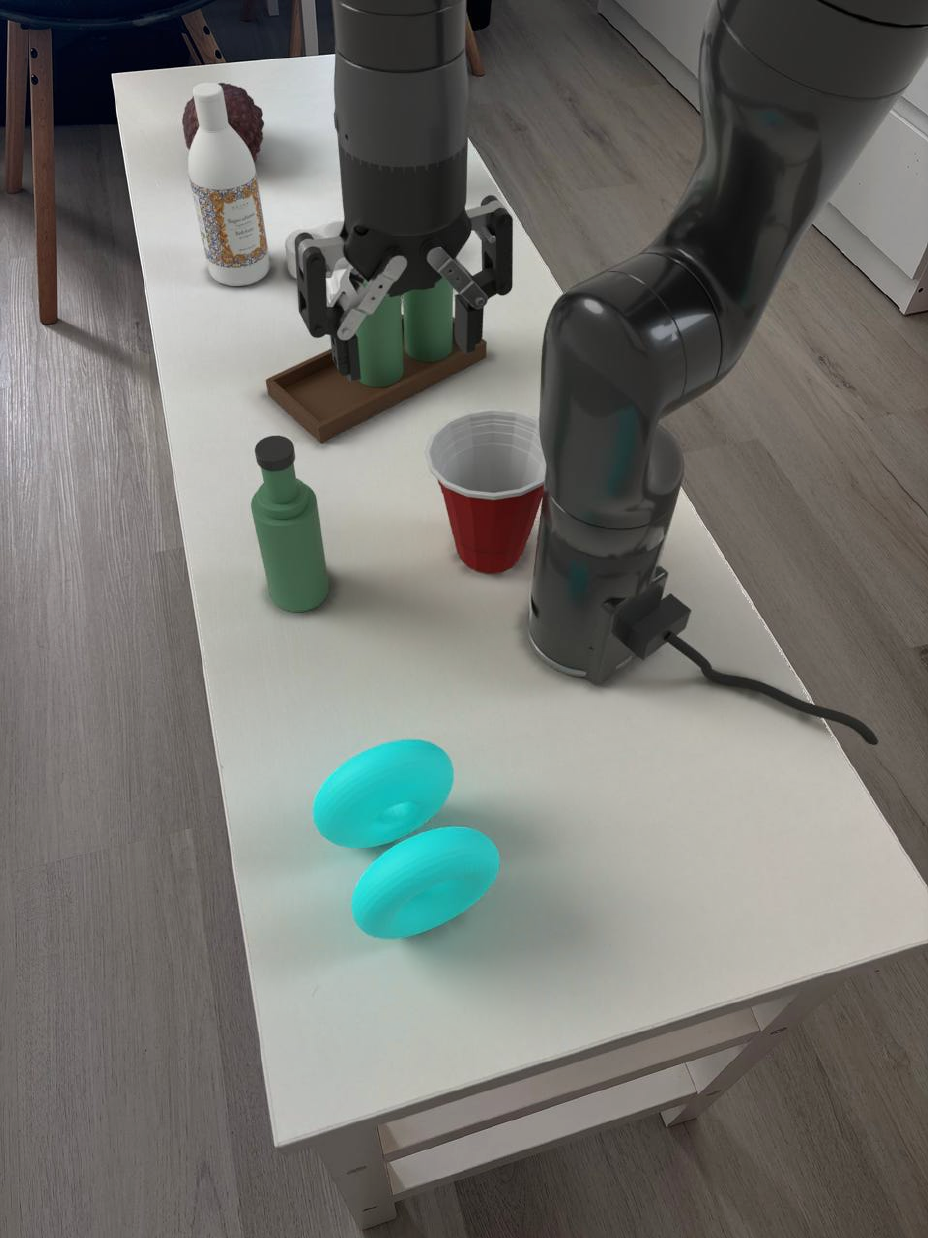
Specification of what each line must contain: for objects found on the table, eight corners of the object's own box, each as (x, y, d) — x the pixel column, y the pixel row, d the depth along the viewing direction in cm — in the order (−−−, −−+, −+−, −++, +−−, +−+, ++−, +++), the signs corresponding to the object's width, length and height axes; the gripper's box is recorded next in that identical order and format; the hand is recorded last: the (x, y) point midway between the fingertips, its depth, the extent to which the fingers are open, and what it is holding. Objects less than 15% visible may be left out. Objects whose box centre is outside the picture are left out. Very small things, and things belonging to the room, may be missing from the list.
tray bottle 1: (413, 374, 100) (409, 229, 88) (374, 394, 98) (364, 249, 86) (383, 350, 102) (376, 206, 90) (345, 369, 100) (331, 224, 88)
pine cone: (169, 134, 131) (192, 56, 126) (241, 166, 135) (266, 92, 131) (175, 162, 117) (202, 76, 113) (255, 197, 122) (283, 115, 117)
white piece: (302, 317, 107) (280, 244, 115) (461, 293, 110) (428, 224, 118) (299, 290, 104) (276, 218, 112) (462, 266, 107) (428, 198, 116)
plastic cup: (487, 487, 91) (492, 383, 82) (574, 549, 86) (590, 447, 77) (400, 546, 86) (395, 444, 77) (488, 616, 82) (494, 516, 72)
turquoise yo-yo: (366, 965, 64) (356, 907, 56) (314, 836, 69) (298, 767, 61) (503, 903, 67) (512, 839, 59) (442, 784, 72) (442, 711, 64)
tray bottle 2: (462, 349, 103) (465, 205, 90) (425, 368, 101) (422, 223, 88) (432, 327, 105) (431, 183, 92) (395, 345, 103) (389, 201, 90)
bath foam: (225, 295, 109) (188, 111, 93) (199, 264, 112) (160, 82, 96) (281, 276, 111) (255, 94, 95) (254, 247, 115) (224, 66, 99)
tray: (486, 357, 103) (487, 341, 101) (320, 443, 94) (318, 427, 93) (431, 316, 107) (431, 300, 106) (267, 395, 98) (265, 379, 97)
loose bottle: (340, 592, 83) (322, 451, 70) (291, 622, 81) (264, 482, 68) (306, 558, 85) (283, 415, 73) (258, 586, 83) (225, 444, 71)
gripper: (302, 182, 52) (329, 418, 65) (542, 137, 56) (523, 368, 69) (263, 119, 56) (296, 352, 69) (490, 81, 60) (480, 309, 73)
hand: (409, 360), depth 69 cm, fingers open, 8 cm apart
